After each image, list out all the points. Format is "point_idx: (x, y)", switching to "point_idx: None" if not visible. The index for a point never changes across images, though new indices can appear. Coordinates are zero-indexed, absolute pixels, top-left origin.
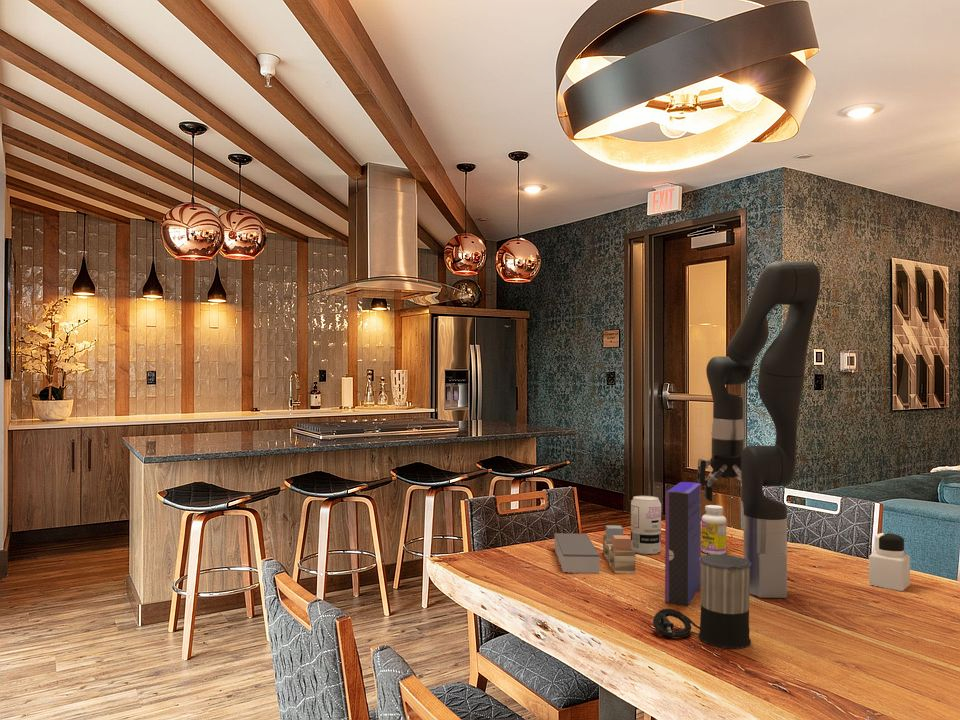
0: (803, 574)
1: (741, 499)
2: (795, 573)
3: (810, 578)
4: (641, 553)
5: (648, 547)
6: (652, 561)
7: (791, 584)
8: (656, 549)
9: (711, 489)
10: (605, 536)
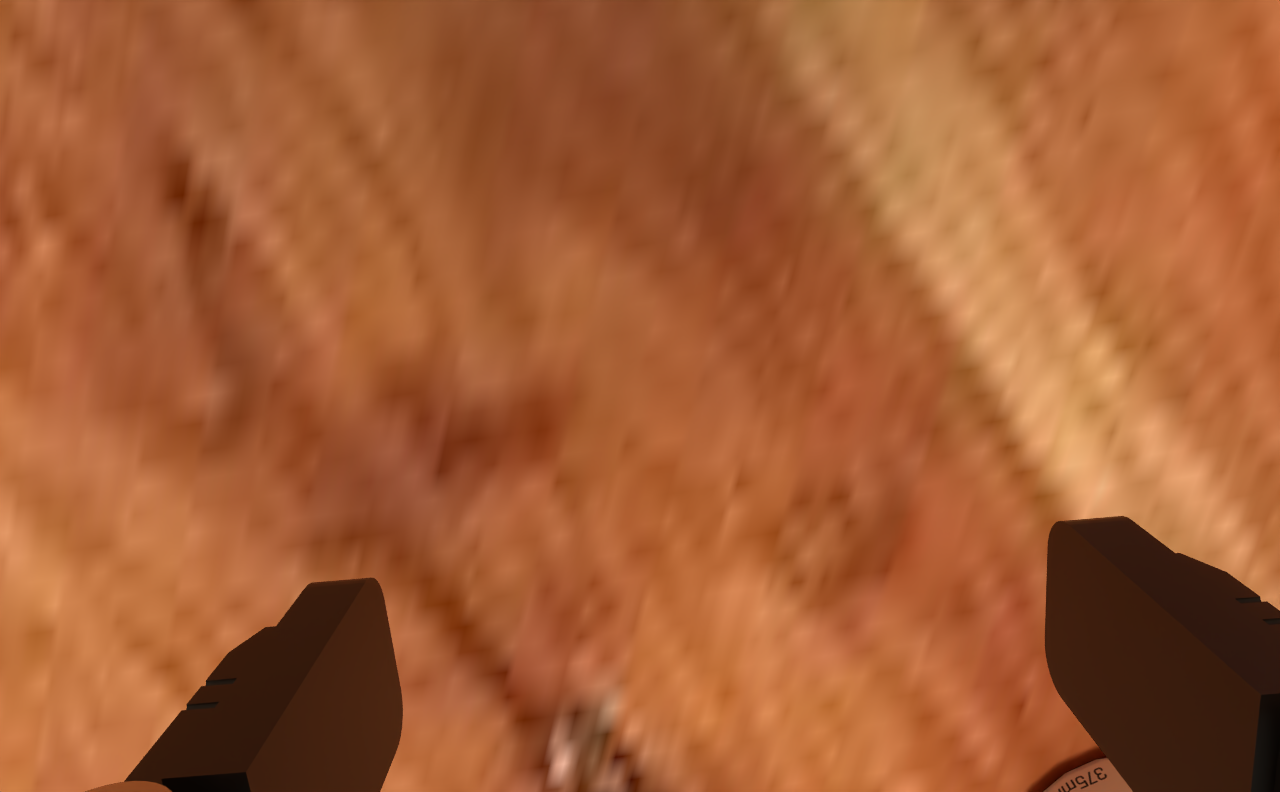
0: (61, 379)
1: (392, 709)
2: (119, 399)
3: (22, 270)
4: None
5: None
6: None
7: (200, 59)
8: (1079, 788)
9: (1237, 655)
10: None
